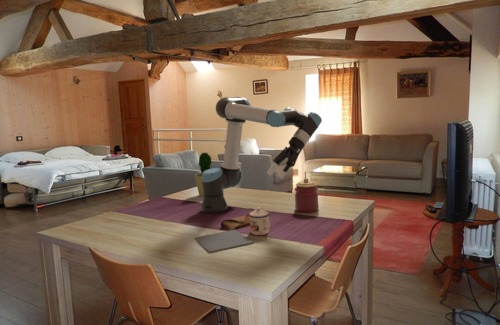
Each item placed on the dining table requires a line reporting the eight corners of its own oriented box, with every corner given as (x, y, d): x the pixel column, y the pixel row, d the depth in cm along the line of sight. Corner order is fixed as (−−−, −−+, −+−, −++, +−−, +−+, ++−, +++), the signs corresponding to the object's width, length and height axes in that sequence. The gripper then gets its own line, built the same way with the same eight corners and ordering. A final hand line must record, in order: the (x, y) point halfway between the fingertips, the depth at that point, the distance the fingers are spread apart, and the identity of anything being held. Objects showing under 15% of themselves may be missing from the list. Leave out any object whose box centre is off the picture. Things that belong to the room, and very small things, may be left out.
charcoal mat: (194, 238, 169) (194, 237, 169) (235, 230, 178) (235, 229, 178) (209, 253, 151) (209, 251, 151) (253, 243, 160) (253, 241, 160)
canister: (311, 205, 216) (311, 175, 213) (323, 210, 204) (322, 178, 201) (291, 208, 212) (290, 177, 209) (301, 214, 200) (300, 181, 197)
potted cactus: (209, 199, 245) (206, 153, 240) (191, 197, 253) (188, 152, 249) (223, 193, 257) (220, 150, 253) (206, 192, 266) (203, 150, 262)
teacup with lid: (246, 232, 175) (244, 207, 173) (261, 227, 180) (260, 204, 178) (261, 238, 165) (260, 212, 163) (277, 233, 170) (276, 208, 168)
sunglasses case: (230, 231, 177) (225, 218, 179) (223, 235, 182) (219, 222, 184) (259, 222, 188) (254, 210, 190) (252, 227, 193) (247, 215, 195)
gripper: (316, 145, 172) (290, 183, 169) (293, 144, 196) (270, 177, 193) (305, 135, 170) (278, 173, 167) (283, 135, 193) (259, 168, 190)
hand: (274, 175), depth 180 cm, fingers open, 13 cm apart
